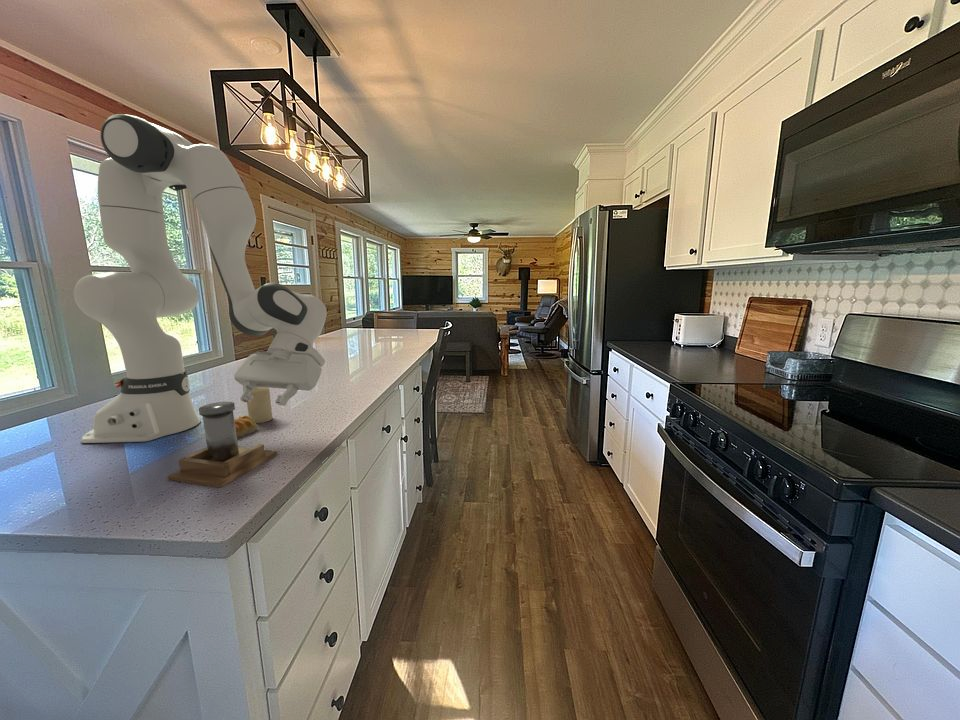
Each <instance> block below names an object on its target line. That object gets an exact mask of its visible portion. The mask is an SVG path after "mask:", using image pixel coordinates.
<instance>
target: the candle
mask: <svg viewBox="0 0 960 720" xmlns="http://www.w3.org/2000/svg"><path fill="white" fill-rule="evenodd" d="M251 395H252V396H254V397H253V399H252V401H251V402H246V405H247V407H246V408H247V416H250V417H252V419H253V420H254V421H255V423H256V424H262V423H263V424H264V423H267V422H269V421H272V419H273V412H272V410H273V409H272V401H271V400H272V399H271V391H270V388H268V387H255V389H254V390H252V391H251Z"/></svg>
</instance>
